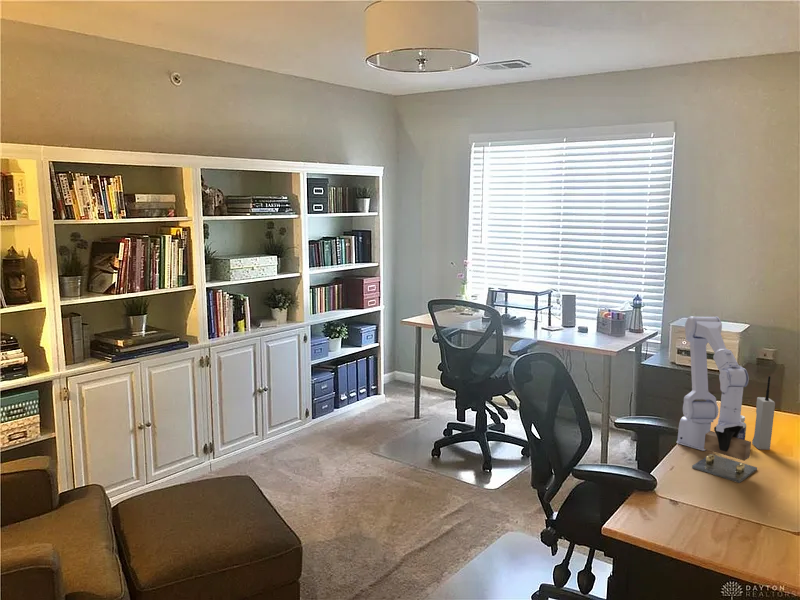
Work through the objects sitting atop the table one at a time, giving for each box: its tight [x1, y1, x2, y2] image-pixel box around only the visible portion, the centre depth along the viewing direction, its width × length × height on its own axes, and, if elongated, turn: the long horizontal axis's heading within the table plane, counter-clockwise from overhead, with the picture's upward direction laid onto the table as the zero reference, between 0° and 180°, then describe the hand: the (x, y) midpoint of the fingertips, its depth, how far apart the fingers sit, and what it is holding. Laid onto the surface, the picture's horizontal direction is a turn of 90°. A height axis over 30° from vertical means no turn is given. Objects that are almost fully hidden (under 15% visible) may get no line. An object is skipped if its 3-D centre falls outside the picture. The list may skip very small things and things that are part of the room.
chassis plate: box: [691, 453, 758, 484], centre depth 202 cm, size 14×14×3 cm
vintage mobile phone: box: [751, 375, 776, 451], centre depth 218 cm, size 4×5×25 cm
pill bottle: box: [737, 414, 747, 440], centre depth 223 cm, size 5×5×10 cm
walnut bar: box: [704, 430, 752, 462], centre depth 201 cm, size 12×4×5 cm, turn 43°
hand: (726, 448), depth 201 cm, fingers closed on walnut bar, 4 cm apart
